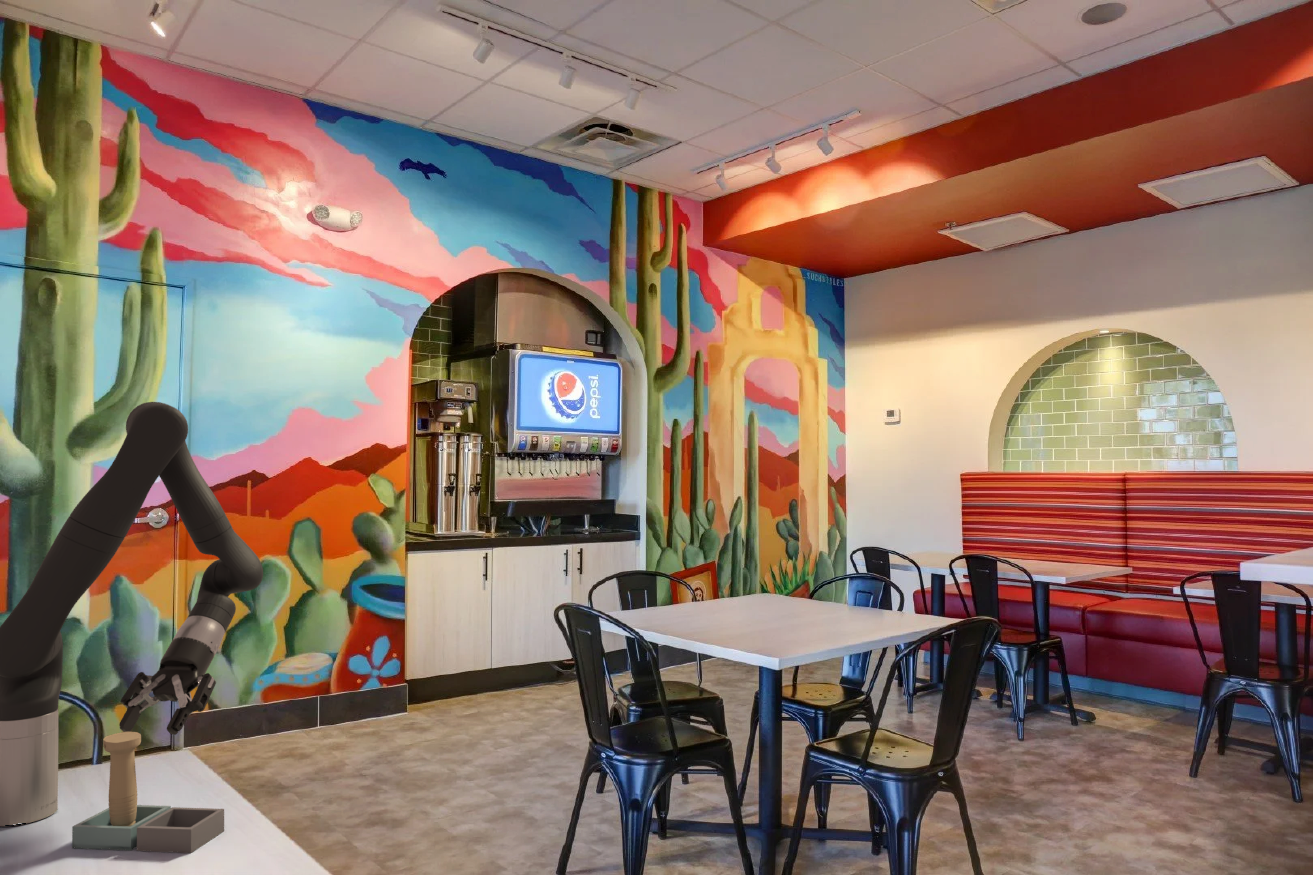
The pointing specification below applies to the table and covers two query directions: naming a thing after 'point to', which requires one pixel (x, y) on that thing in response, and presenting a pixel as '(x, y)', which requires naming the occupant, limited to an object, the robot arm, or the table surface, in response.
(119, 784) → the handle
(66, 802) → the table surface
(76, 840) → the parts tray
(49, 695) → the robot arm
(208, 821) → the open rectangular frame
